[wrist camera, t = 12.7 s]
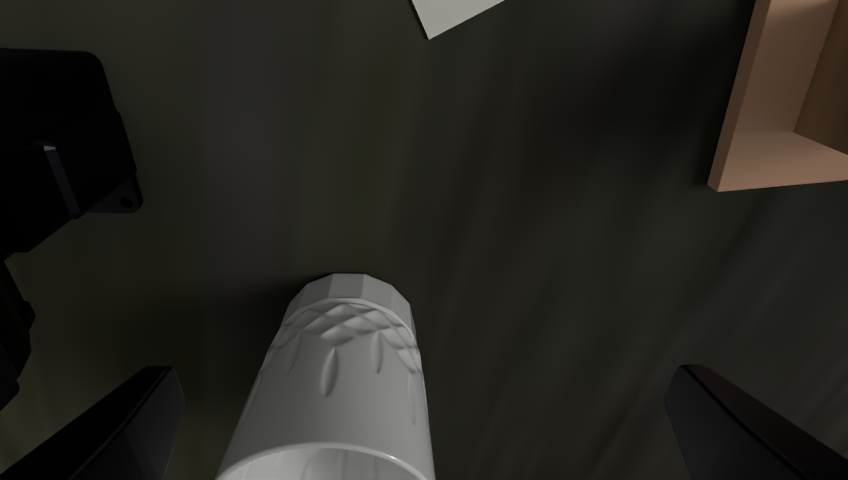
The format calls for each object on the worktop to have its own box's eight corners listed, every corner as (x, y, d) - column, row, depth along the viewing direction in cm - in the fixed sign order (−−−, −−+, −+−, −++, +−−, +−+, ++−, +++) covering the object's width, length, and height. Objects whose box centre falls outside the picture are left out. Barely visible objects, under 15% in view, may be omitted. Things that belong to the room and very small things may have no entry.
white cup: (334, 232, 21) (290, 409, 13) (455, 314, 24) (485, 502, 16) (247, 330, 24) (164, 529, 16) (364, 393, 27) (349, 589, 19)
